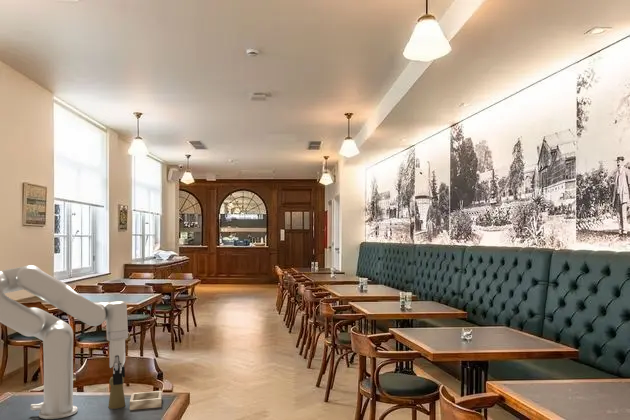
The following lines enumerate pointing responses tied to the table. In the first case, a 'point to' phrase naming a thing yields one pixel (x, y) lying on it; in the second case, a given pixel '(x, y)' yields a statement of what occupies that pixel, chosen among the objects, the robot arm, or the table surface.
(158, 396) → the beige square frame
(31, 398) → the table surface
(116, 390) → the cork
